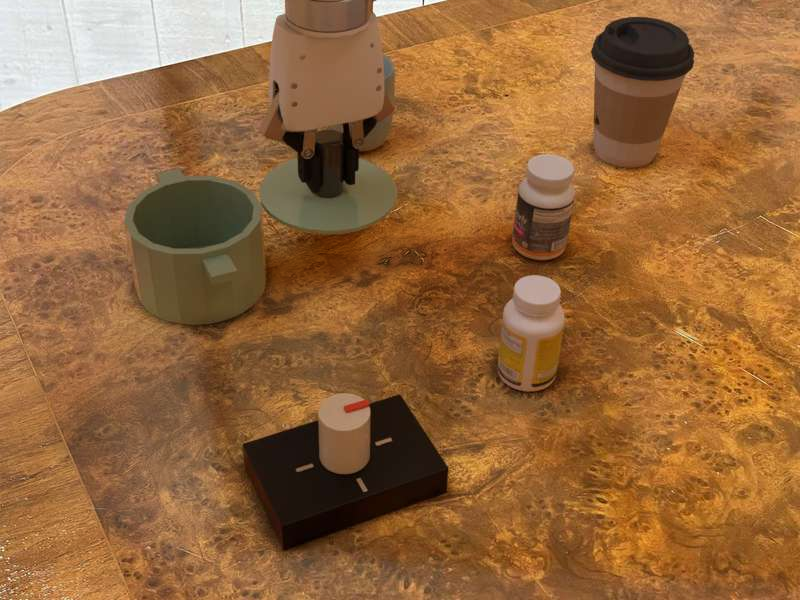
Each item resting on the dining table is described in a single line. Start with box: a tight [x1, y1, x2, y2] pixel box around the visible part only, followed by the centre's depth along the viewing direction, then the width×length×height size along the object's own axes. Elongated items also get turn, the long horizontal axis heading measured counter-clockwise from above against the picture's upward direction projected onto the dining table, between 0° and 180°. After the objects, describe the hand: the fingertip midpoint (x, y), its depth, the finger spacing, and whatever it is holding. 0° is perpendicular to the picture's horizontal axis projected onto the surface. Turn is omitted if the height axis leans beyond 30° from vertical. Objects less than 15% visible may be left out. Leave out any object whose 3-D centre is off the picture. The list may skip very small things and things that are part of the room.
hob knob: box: [317, 392, 371, 474], centre depth 83 cm, size 4×4×5 cm
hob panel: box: [241, 393, 449, 551], centre depth 86 cm, size 14×9×3 cm, turn 115°
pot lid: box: [258, 128, 398, 235], centre depth 104 cm, size 14×14×7 cm
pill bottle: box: [511, 153, 576, 261], centre depth 109 cm, size 6×6×10 cm
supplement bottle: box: [496, 274, 566, 392], centre depth 94 cm, size 5×5×10 cm
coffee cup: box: [590, 16, 695, 169], centre depth 122 cm, size 11×11×15 cm
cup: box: [329, 54, 396, 152], centre depth 123 cm, size 8×8×10 cm
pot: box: [123, 167, 267, 326], centre depth 103 cm, size 13×18×8 cm
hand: (328, 180), depth 105 cm, fingers closed on pot lid, 3 cm apart
